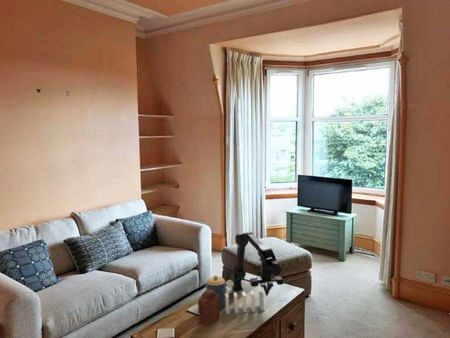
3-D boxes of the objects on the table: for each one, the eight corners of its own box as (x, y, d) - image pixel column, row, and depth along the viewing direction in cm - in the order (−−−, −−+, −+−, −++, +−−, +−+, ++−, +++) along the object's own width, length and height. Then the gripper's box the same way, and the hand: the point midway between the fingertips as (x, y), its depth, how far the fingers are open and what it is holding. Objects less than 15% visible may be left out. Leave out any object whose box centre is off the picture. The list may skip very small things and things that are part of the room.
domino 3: (242, 308, 203) (242, 291, 202) (245, 307, 203) (244, 291, 202) (243, 312, 198) (243, 295, 197) (246, 312, 198) (246, 295, 197)
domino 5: (259, 306, 204) (258, 290, 203) (261, 306, 204) (261, 290, 203) (260, 311, 199) (260, 294, 198) (263, 310, 199) (263, 294, 198)
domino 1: (225, 309, 202) (225, 293, 201) (228, 309, 202) (227, 293, 201) (226, 313, 197) (226, 297, 196) (229, 313, 197) (228, 297, 196)
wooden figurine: (215, 315, 196) (214, 285, 194) (221, 320, 191) (220, 289, 189) (197, 322, 190) (195, 291, 188) (203, 328, 184) (201, 295, 182)
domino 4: (250, 307, 204) (250, 291, 203) (253, 307, 204) (253, 291, 203) (252, 311, 199) (251, 295, 198) (255, 311, 199) (254, 295, 198)
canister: (231, 302, 211) (230, 274, 209) (216, 311, 201) (216, 282, 200) (216, 296, 220) (215, 269, 218) (201, 304, 210) (200, 276, 208)
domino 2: (234, 308, 203) (233, 292, 202) (236, 308, 203) (236, 292, 202) (235, 313, 198) (234, 296, 197) (237, 313, 198) (237, 296, 197)
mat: (221, 309, 203) (221, 308, 203) (262, 306, 205) (262, 305, 205) (222, 315, 196) (222, 315, 196) (265, 312, 198) (265, 311, 198)
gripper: (278, 263, 209) (278, 288, 210) (248, 265, 207) (248, 290, 208) (283, 270, 197) (283, 296, 199) (251, 272, 196) (251, 299, 197)
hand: (266, 295), depth 201 cm, fingers closed
